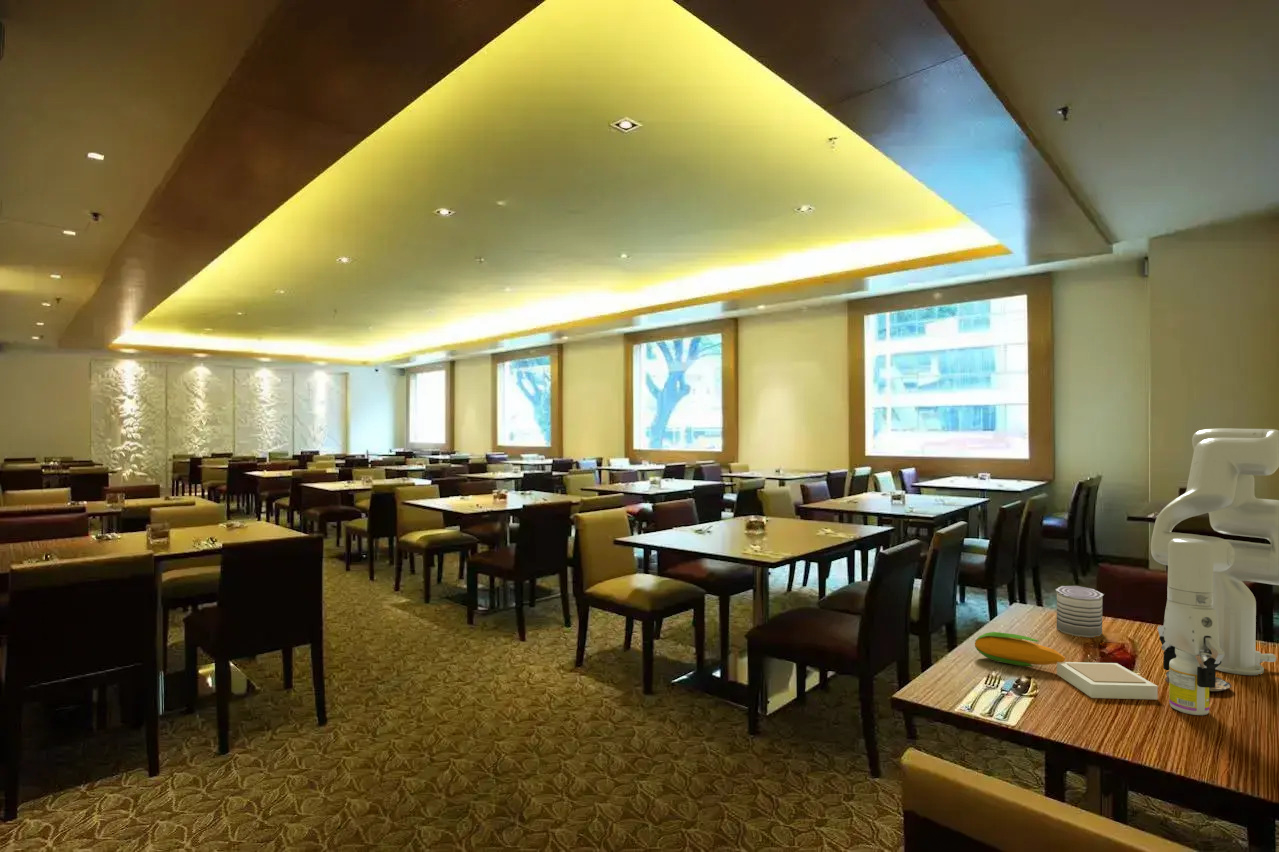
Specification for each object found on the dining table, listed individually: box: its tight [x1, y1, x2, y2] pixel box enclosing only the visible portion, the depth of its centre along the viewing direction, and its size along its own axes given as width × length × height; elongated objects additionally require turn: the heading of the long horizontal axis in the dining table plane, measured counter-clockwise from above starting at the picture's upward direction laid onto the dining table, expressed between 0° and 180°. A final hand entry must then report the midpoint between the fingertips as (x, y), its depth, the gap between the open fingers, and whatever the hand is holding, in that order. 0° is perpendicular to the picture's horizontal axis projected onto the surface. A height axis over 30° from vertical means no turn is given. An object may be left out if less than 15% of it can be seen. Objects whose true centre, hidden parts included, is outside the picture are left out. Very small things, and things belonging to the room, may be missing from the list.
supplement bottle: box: [1168, 647, 1210, 716], centre depth 144 cm, size 7×7×13 cm
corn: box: [974, 631, 1066, 668], centre depth 171 cm, size 7×8×20 cm
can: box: [1055, 585, 1105, 638], centre depth 198 cm, size 11×11×12 cm
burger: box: [1164, 670, 1233, 692], centre depth 158 cm, size 12×12×8 cm
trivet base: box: [1056, 661, 1159, 700], centre depth 157 cm, size 14×14×3 cm
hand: (1188, 678), depth 144 cm, fingers open, 9 cm apart
